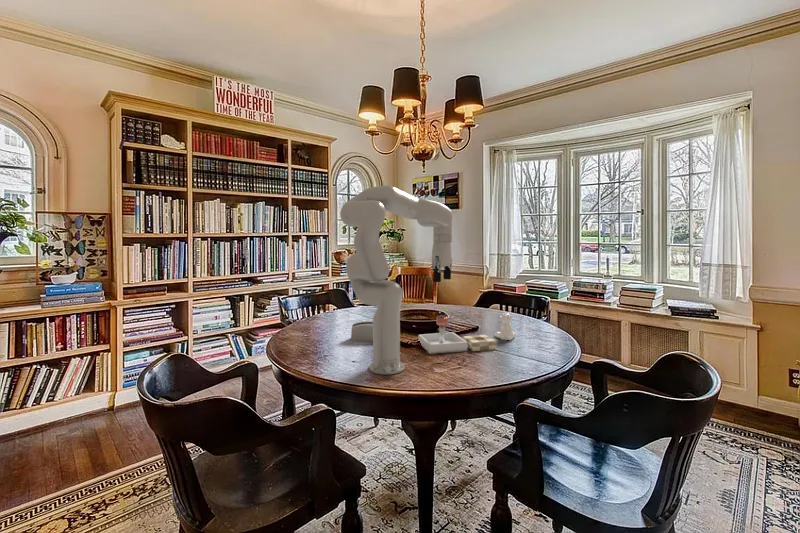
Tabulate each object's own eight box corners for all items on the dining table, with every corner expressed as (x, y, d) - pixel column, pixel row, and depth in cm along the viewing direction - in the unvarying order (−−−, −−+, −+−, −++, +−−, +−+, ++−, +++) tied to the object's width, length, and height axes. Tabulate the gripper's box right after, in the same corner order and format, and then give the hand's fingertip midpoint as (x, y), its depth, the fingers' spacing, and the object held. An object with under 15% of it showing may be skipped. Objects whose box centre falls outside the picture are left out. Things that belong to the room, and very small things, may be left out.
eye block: (495, 349, 163) (495, 340, 163) (472, 351, 161) (473, 342, 161) (484, 342, 173) (484, 334, 173) (463, 344, 171) (463, 336, 170)
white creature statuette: (515, 336, 182) (515, 310, 181) (519, 341, 174) (519, 314, 173) (494, 335, 183) (494, 310, 182) (496, 341, 175) (497, 314, 174)
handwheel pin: (434, 343, 169) (434, 315, 168) (445, 343, 170) (446, 314, 169) (438, 347, 164) (438, 317, 163) (449, 346, 165) (450, 317, 164)
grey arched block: (388, 337, 181) (387, 319, 177) (387, 344, 177) (387, 325, 173) (352, 337, 182) (350, 318, 178) (350, 343, 178) (348, 324, 174)
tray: (467, 350, 161) (467, 342, 161) (429, 353, 158) (429, 345, 157) (452, 340, 177) (453, 332, 177) (418, 342, 173) (418, 334, 173)
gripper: (443, 238, 172) (442, 277, 174) (424, 239, 157) (424, 282, 159) (459, 238, 168) (458, 278, 170) (441, 239, 154) (441, 283, 155)
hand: (442, 280), depth 164 cm, fingers open, 9 cm apart
